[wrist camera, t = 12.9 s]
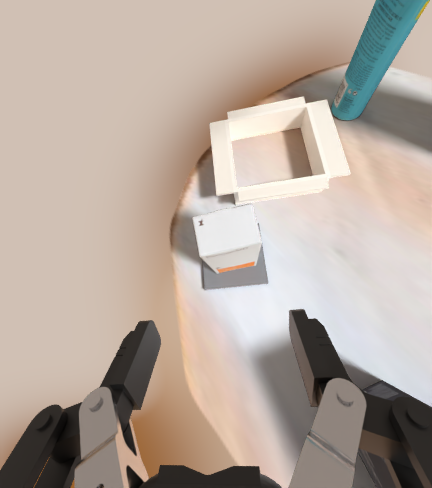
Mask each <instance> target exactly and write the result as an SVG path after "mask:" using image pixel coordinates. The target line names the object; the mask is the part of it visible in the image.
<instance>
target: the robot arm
mask: <svg viewBox="0 0 432 488" xmlns="http://www.w3.org/2000/svg"><path fill="white" fill-rule="evenodd" d="M289 331H290V337H291V341H292V344H293V348H294V351H295V354H296V358H297V361H298V364H299V368H300V371H301V374H302V378H303V381H304V384H305V388H306V391H307V394H308V397H309V401H310V404H311V407H318V411H317V414H316V417H315V419H314V422H313V425H312V428H311V430H310V432H309V433H308V435H307V437H306V440H305V443H304V445H303V448H302V451H301V454H300V457H299V460H298V462H297V465H296V468H295V471H294V474H293V476H292V479H291V482H290V485H289V488H352V485H353V479H354V473H355V462H356V457H357V452H358V448H359V449H362V450H365V451H367V452H370V453H372V454H375V455H378V456H380V457H383V458H384V460H385V462H386V465H387V467H388V469H389V472H390V474H391V476H392V479H393V481H394V483H395V486H396V488H432V410H431V409H430V408H429V407H428V406H426V405H425V404H424V403H422V402H420V401H418V400H416V399H414V398H411V397H405V396H402V397H398V398H396V399H395V400H394V401H391V400H387V399H384V398H380V397H377V396H373V395H371V394H368V393H366V392H364V391H363V390H361V389H360V388H358V387H357V386H356V385H355V384H354V383H353V382H352V381H351V379H350V378H349V376H348V375H347V373H346V371H345V369H344V367H343V364H342V362H341V360H340V358H339V356H338V354H337V352H336V350H335V348H334V346H333V345H332V342H331V340H330V338H329V337H328V334H327V332H326V330H325V328H324V326H323V325H322V324H321V323H320V322H319V321H318V320H317V319H308V317H307V315H306V312H305V310H304V309H298V310H290V311H289ZM160 345H161V339H160V335H159V333H158V331H157V328H156V326H155V324H154V322H153V321H152V320H150V321H140V322H138V324H137V326H136V328H135V330H134V331H131V332H130V333H129V334H128V335H127V336H126V337H125V338H124V340H123V342H122V344H121V346H120V349H119V350H118V352H117V354H116V357H115V358H114V360H113V362H112V364H111V366H110V368H109V370H108V372H107V374H106V376H105V378H104V380H103V382H102V384H101V386H100V387H99V388H97V389H95V390H94V391H92V392H91V393H90V394H89V395H88V396H87V397H86V398H85V399H84V401H83V402H81V403H79V404H76V405H74V406H71V407H68V408H66V409H62V408H61V407H60V406H59V405H51V406H49V407H47V408H45V409H43V410H42V411H41V412H40V413H39V414H37V415H36V416H35V418H34V419H33V420H32V421H31V423H30V424H29V426H28V427H27V429H26V431H25V432H24V434H23V435H22V437H21V438H20V440H19V442H18V443H17V445H16V446H15V448H14V450H13V451H12V453H11V454H10V456H9V457H8V459H7V461H6V462H5V464H4V465H3V467H2V469H1V470H0V488H33V487H34V485H35V483H36V481H37V479H38V477H39V475H40V473H41V472H42V473H41V475H40V477H39V479H38V481H37V483H36V485H35V487H34V488H70V487H71V485H72V482H73V480H74V477H75V488H282V487H281V486H280V485H279V484H277V483H276V482H275V481H274V480H272V479H270V478H269V477H267V476H265V475H262V474H260V468H259V466H233V467H230V468H227V469H225V470H222V471H219V472H217V473H214V474H211V475H204V474H202V473H200V472H197V471H195V470H193V469H190V468H188V467H186V466H182V465H178V466H177V465H160V468H159V473H158V474H156V475H155V476H153V477H151V478H150V479H149V478H148V475H147V472H146V469H145V467H144V465H143V463H142V460H141V457H140V453H139V450H138V445H137V442H136V437H135V434H134V429H133V425H132V422H131V418H130V416H131V413H132V410H141V407H142V403H143V400H144V397H145V394H146V391H147V387H148V384H149V381H150V378H151V375H152V371H153V368H154V365H155V362H156V359H157V356H158V352H159V349H160ZM49 457H50V458H49ZM48 458H49V460H48ZM47 460H48V461H47ZM46 462H47V463H46ZM45 464H46V465H45ZM44 466H45V467H44ZM43 468H44V469H43ZM42 470H43V471H42Z"/></svg>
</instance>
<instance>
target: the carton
mask: <svg viewBox="0 0 432 488" xmlns="http://www.w3.org/2000/svg"><path fill="white" fill-rule="evenodd" d="M227 113H228V119H227V120H222V121H218V122H213V123H209V124H210V135H211V145H212V155H213V165H214V175H215V185H216V195H217V196H220V195H226V194H233V193H234V197H235V205H238V204H245V203H252V202H258V201H265V200H271V199H278V198H285V197H291V196H298V195H304V194H311V193H318V192H322V190H323V189H328V188H329V185H328V181H329V179H330V178H334V177H340V176H346V175H350V174H351V173H350V170H349V167H348V164H347V161H346V157H345V154H344V151H343V148H342V145H341V142H340V139H339V136H338V133H337V129H336V126H335V123H334V120H333V117H332V114H331V111H330V108H329V105H328V101H327V99H326V100H321V101H316V102H311V103H305V99H304V96H303V97H298V98H293V99H288V100H283V101H278V102H274V103H269V104H264V105H259V106H254V107H249V108H245V109H240V110H235V111H231V112H227ZM296 128H301V132H302V136H303V140H304V143H305V147H306V151H307V155H308V159H309V163H310V167H311V170H312V174H313V176H308V177H302V178H296V179H290V180H283V181H277V182H271V183H265V184H259V185H252V186H246V187H240V188H237V181H236V173H235V166H234V158H233V151H232V144H231V141H233V140H238V139H243V138H248V137H254V136H259V135H264V134H269V133H275V132H280V131H285V130H291V129H296Z"/></svg>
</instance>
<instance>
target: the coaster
mask: <svg viewBox="0 0 432 488" xmlns="http://www.w3.org/2000/svg"><path fill="white" fill-rule="evenodd" d="M258 227H259V223H258ZM259 232H260V228H259ZM260 236H261V235H260ZM203 272H204V287H205V290H212V289H221V288H231V287H241V286H251V285H260V284H268V278H267V272H266V266H265V260H264V253H263V247H262V244H261V248H260V252H259V256H258V260H257V264H256V266H251V267H246V268H241V269H236V270H231V271H227V272H222V273H219V274H217V273H216V272H215V271H214V270H213V269H212V268H211V267H210V266H209V265H208V264H207V263H206V262H205V261H204V260H203Z"/></svg>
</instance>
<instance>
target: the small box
mask: <svg viewBox="0 0 432 488" xmlns="http://www.w3.org/2000/svg"><path fill="white" fill-rule="evenodd" d="M363 391H364V392H366V393H368V394H371V395H373V396H377V397H380V398H384V399H387V400H391V401H394V400H395V399H396V398H398V397H402V396H405V397H411V398H414V397H412V396H410V395H408V394H406V393H405V392H403V391H401V390H399V389H397V388H395V387H394V386H392V385H390V384H388V383H386V382H384V381H381V382H378V383H376V384H374V385H372V386H369V387H367V388H365V389H363ZM414 399H416V398H414ZM416 400H417V399H416ZM418 401H419V400H418ZM420 402H421V401H420ZM422 403H423V402H422ZM424 404H425V403H424ZM425 405H426V406H428V407H429V408H430V409H431V410H432V407H430V406H429V405H427V404H425ZM358 453H359V455H360V457H361V458H362V460H363V462H364V464H365V466H366V468H367V470H368V472H369V474H370V475H371V477H372V479H373V481H374V483H375V485H376V487H377V488H396V486H395V483H394V481H393V479H392V476H391V474H390V472H389V469H388V467H387V465H386V462H385V460H384V458H383V457H380V456H378V455H375V454H372V453H370V452H367V451H365V450H362V449H359V448H358Z"/></svg>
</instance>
